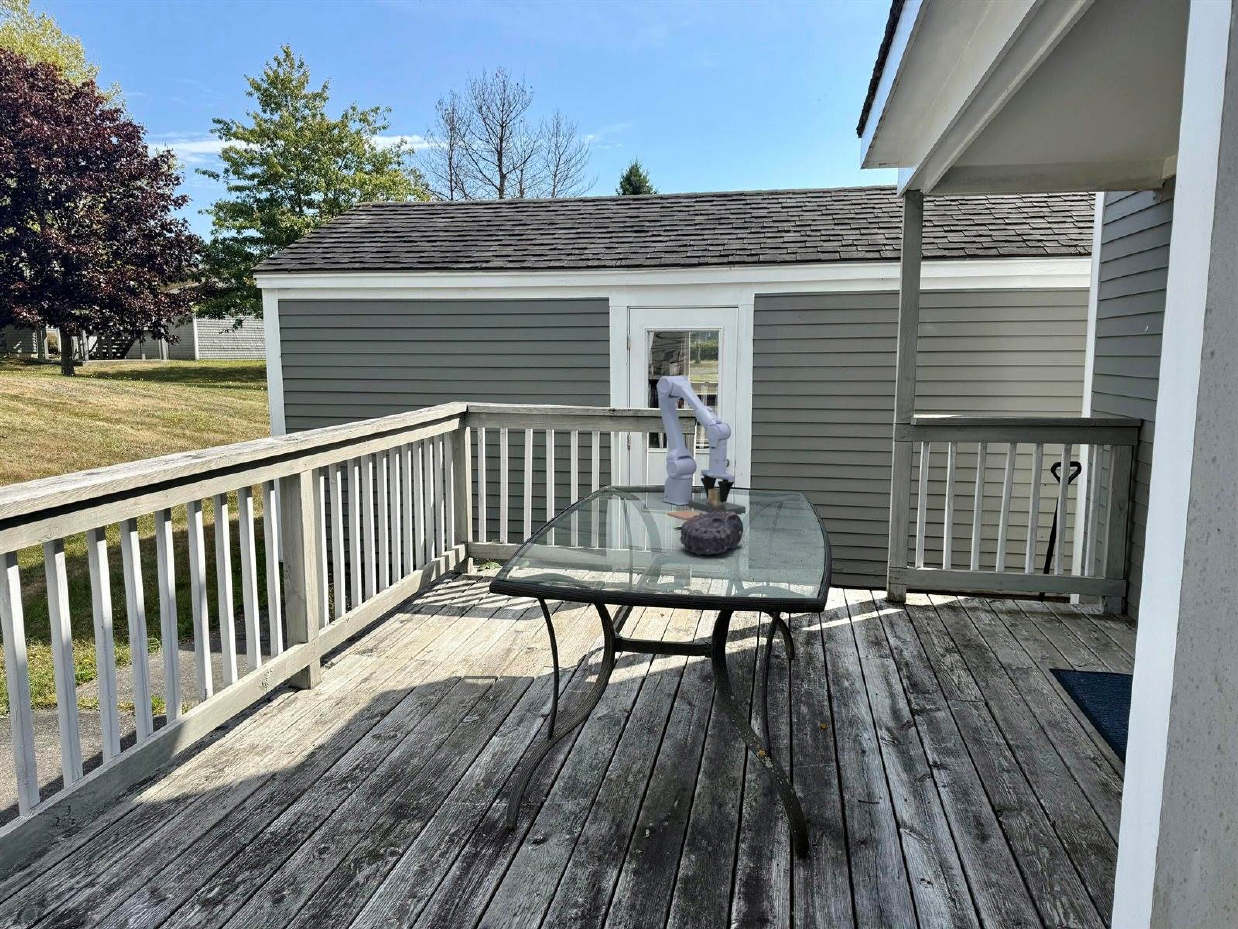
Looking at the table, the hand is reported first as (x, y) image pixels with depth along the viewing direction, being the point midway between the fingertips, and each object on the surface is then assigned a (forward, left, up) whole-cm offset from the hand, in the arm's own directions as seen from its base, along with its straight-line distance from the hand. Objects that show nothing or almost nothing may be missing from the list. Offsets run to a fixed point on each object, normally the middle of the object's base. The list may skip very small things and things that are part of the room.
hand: (716, 500), depth 283 cm
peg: (0, 0, -3) cm, 3 cm away
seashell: (+38, -36, -4) cm, 52 cm away
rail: (0, 0, -3) cm, 3 cm away
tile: (+1, -14, -3) cm, 14 cm away
